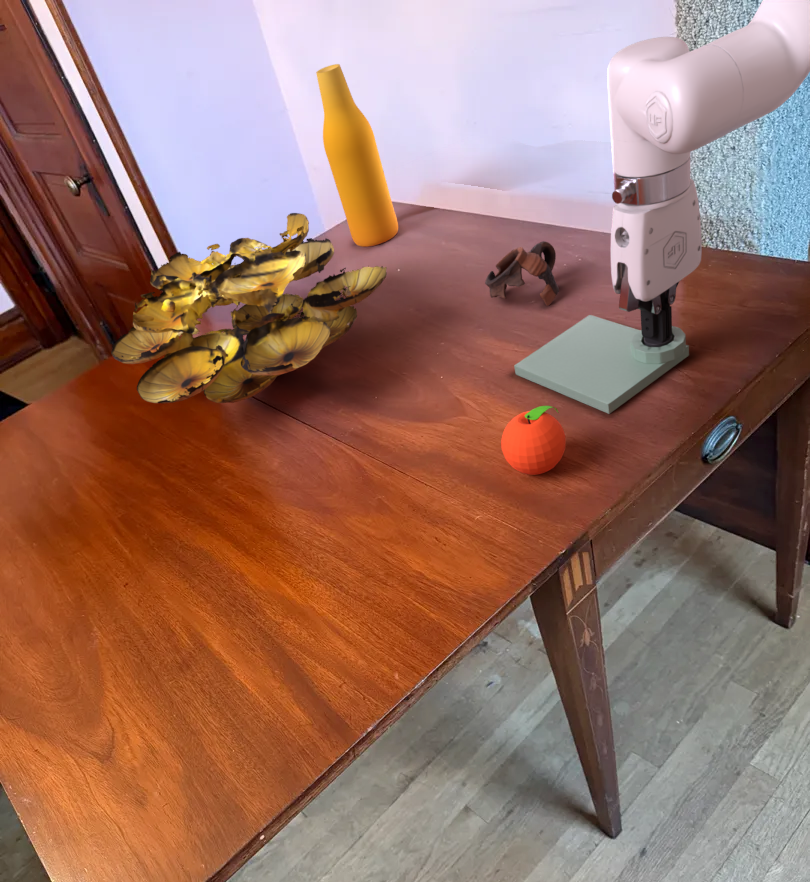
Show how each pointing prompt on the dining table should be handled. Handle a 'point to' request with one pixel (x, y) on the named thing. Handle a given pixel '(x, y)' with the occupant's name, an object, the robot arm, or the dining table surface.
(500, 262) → the broken mug
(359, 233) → the beer bottle
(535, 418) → the clementine
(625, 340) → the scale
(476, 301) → the dining table surface
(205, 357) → the mushroom
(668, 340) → the tare button
